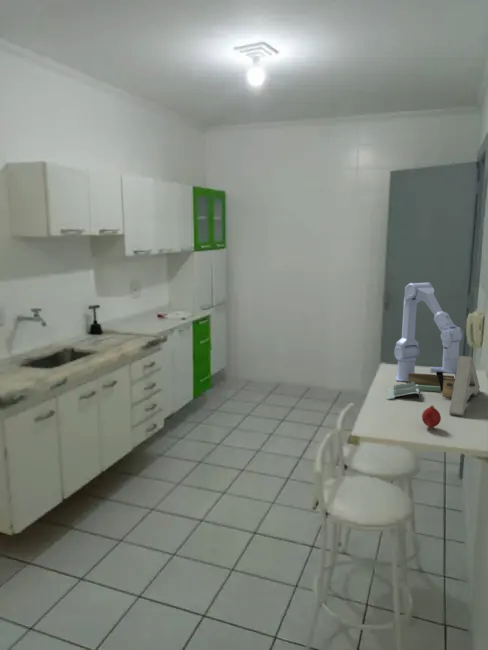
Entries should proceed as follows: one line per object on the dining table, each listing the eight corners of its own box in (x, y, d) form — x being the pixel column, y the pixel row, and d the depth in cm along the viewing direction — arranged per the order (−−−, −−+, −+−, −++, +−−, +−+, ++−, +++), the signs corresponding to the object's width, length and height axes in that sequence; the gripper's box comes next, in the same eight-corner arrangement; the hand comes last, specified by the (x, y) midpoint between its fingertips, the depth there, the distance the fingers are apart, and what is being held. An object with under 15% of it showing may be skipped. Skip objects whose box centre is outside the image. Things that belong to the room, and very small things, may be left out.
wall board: (408, 384, 219) (408, 372, 218) (453, 387, 214) (453, 375, 213) (408, 385, 218) (408, 373, 217) (453, 388, 212) (454, 376, 212)
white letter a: (471, 438, 201) (462, 414, 177) (459, 436, 203) (449, 412, 180) (479, 386, 208) (472, 356, 185) (468, 385, 211) (459, 355, 187)
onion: (418, 425, 170) (419, 402, 169) (435, 424, 171) (436, 402, 169) (425, 431, 165) (427, 408, 163) (443, 431, 165) (444, 407, 164)
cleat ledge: (410, 385, 217) (410, 380, 217) (450, 388, 213) (451, 383, 212) (411, 389, 211) (411, 385, 210) (452, 392, 206) (452, 388, 206)
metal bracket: (418, 378, 208) (420, 388, 194) (422, 391, 208) (424, 402, 194) (383, 385, 212) (382, 395, 198) (386, 398, 213) (386, 409, 199)
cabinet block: (441, 392, 206) (442, 377, 205) (453, 393, 205) (454, 378, 204) (442, 396, 201) (443, 381, 200) (455, 397, 200) (456, 381, 199)
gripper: (431, 359, 199) (429, 392, 201) (471, 361, 195) (469, 395, 197) (430, 355, 206) (428, 387, 208) (469, 357, 202) (467, 390, 204)
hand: (448, 391), depth 203 cm, fingers closed on cabinet block, 4 cm apart
